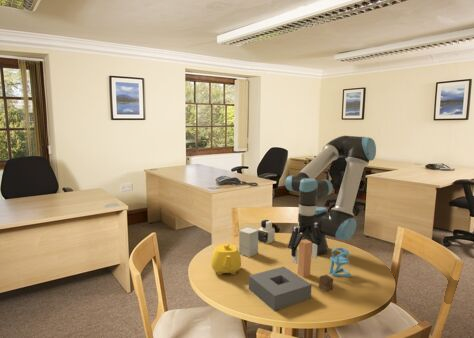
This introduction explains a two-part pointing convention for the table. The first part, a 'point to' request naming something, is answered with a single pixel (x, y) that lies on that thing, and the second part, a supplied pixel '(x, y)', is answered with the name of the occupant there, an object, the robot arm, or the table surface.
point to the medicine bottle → (266, 232)
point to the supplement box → (248, 242)
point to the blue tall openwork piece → (339, 262)
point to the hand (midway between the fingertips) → (304, 260)
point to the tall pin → (304, 258)
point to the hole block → (279, 287)
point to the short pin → (326, 283)
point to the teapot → (226, 259)
